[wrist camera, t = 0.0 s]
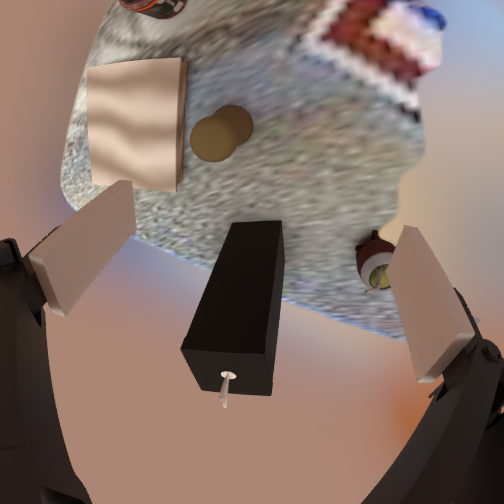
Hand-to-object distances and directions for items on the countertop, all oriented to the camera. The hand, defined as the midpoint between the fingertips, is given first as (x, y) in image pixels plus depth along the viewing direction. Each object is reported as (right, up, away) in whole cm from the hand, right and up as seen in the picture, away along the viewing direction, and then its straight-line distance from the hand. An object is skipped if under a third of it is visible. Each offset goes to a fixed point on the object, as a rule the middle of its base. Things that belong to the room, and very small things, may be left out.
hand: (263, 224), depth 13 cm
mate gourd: (+19, 0, +31) cm, 36 cm away
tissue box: (+1, 0, +34) cm, 34 cm away
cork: (-3, +16, +24) cm, 29 cm away
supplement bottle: (-12, +33, +14) cm, 38 cm away
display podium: (-17, +18, +25) cm, 35 cm away
